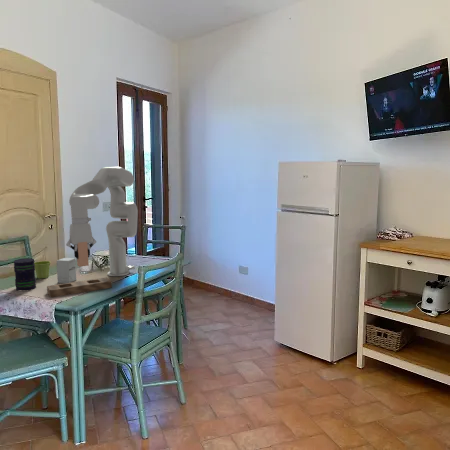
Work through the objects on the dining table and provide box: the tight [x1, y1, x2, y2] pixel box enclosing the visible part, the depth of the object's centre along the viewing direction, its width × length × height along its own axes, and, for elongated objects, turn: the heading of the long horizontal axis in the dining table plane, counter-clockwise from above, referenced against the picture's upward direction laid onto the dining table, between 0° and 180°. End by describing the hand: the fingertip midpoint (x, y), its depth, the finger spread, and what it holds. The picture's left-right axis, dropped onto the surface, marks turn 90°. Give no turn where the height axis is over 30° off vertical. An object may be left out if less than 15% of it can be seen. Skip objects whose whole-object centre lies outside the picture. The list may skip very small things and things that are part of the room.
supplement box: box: [56, 257, 77, 284], centre depth 229 cm, size 7×7×13 cm
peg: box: [76, 242, 90, 268], centre depth 204 cm, size 4×4×12 cm
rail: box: [46, 277, 113, 298], centre depth 212 cm, size 30×9×4 cm, turn 122°
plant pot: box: [34, 260, 52, 279], centre depth 238 cm, size 9×9×9 cm
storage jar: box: [13, 257, 37, 291], centre depth 216 cm, size 10×10×15 cm
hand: (82, 257), depth 204 cm, fingers closed on peg, 4 cm apart
